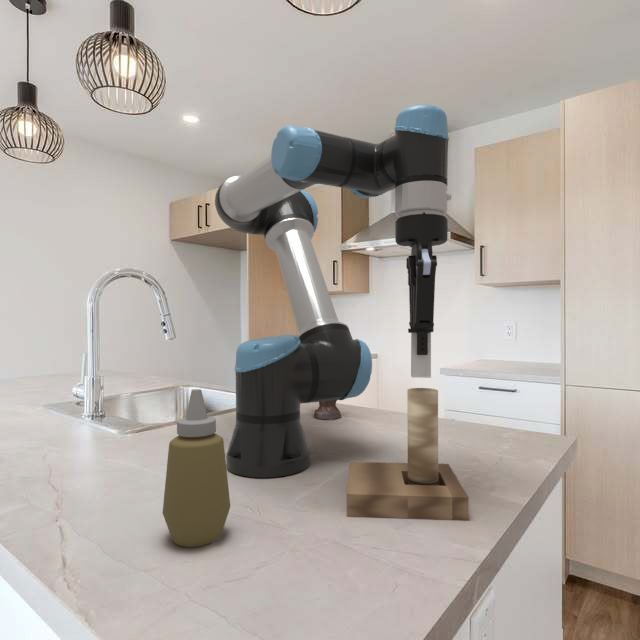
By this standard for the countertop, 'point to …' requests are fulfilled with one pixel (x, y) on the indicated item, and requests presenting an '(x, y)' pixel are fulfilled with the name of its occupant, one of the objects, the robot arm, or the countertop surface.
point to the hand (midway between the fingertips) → (420, 376)
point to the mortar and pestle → (327, 410)
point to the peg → (422, 436)
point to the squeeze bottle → (196, 479)
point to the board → (403, 493)
